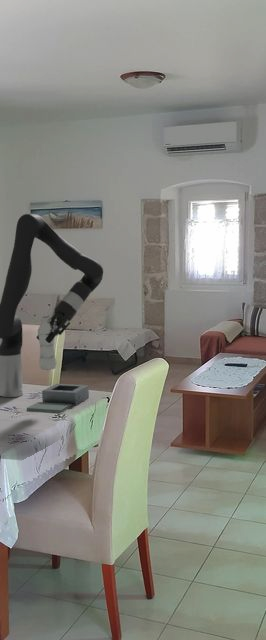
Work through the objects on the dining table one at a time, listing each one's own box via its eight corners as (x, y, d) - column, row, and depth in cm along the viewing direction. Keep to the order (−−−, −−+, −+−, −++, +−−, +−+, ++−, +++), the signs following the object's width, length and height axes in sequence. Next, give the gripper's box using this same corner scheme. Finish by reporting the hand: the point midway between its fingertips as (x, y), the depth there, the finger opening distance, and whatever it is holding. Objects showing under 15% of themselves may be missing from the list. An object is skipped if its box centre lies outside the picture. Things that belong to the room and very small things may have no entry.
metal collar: (42, 403, 252) (42, 390, 252) (57, 395, 264) (56, 383, 264) (75, 405, 248) (75, 392, 247) (88, 397, 260) (88, 385, 259)
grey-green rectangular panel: (26, 410, 242) (26, 407, 242) (37, 404, 251) (37, 402, 251) (60, 412, 238) (60, 410, 238) (71, 406, 246) (71, 404, 246)
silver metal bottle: (58, 368, 246) (56, 315, 243) (54, 371, 239) (52, 317, 236) (41, 368, 246) (39, 315, 244) (37, 371, 240) (34, 318, 237)
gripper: (53, 298, 249) (27, 332, 244) (72, 301, 238) (45, 336, 232) (65, 311, 253) (40, 344, 248) (85, 314, 242) (59, 349, 236)
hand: (42, 340), depth 240 cm, fingers closed on silver metal bottle, 6 cm apart
